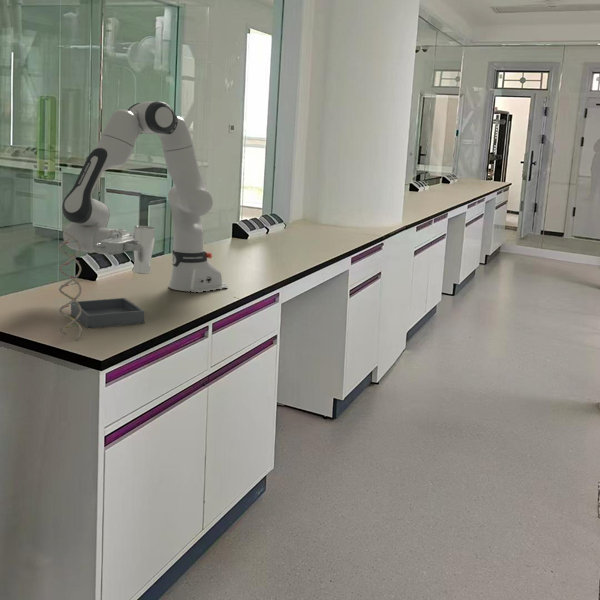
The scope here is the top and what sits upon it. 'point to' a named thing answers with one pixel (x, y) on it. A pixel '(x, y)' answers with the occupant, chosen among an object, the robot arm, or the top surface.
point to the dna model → (71, 284)
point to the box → (107, 312)
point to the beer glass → (143, 248)
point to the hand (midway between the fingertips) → (145, 246)
